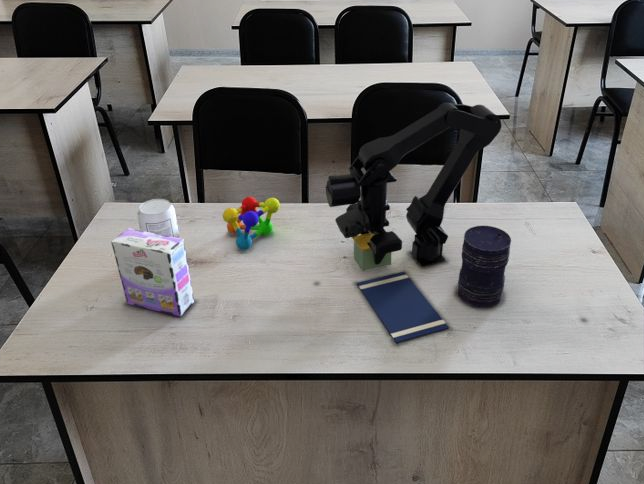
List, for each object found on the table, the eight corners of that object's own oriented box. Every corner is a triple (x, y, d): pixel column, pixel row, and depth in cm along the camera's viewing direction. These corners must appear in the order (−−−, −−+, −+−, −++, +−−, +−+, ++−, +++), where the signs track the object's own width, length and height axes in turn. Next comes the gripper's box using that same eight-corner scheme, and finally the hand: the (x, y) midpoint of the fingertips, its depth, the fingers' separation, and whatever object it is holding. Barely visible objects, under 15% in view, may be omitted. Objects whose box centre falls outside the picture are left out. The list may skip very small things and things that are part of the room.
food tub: (381, 252, 146) (382, 229, 142) (392, 265, 141) (393, 242, 138) (352, 258, 143) (352, 236, 140) (361, 272, 139) (362, 249, 135)
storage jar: (471, 312, 128) (479, 254, 121) (448, 286, 136) (454, 230, 128) (511, 302, 132) (521, 245, 124) (486, 276, 139) (494, 221, 132)
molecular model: (221, 231, 156) (247, 180, 155) (261, 253, 156) (288, 202, 155) (204, 236, 141) (234, 179, 140) (249, 260, 141) (279, 204, 140)
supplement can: (140, 266, 143) (128, 211, 135) (162, 248, 149) (152, 194, 141) (168, 273, 140) (158, 218, 132) (190, 255, 146) (180, 201, 139)
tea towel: (404, 272, 141) (404, 271, 141) (448, 328, 124) (449, 327, 124) (356, 284, 137) (356, 282, 137) (396, 343, 120) (396, 342, 120)
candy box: (195, 301, 131) (185, 238, 123) (180, 318, 127) (168, 253, 118) (142, 288, 135) (128, 226, 127) (125, 304, 130) (109, 240, 122)
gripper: (325, 187, 138) (326, 244, 146) (355, 227, 123) (355, 288, 131) (369, 179, 142) (368, 235, 150) (404, 217, 127) (401, 276, 135)
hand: (372, 257), depth 141 cm, fingers closed on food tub, 5 cm apart
